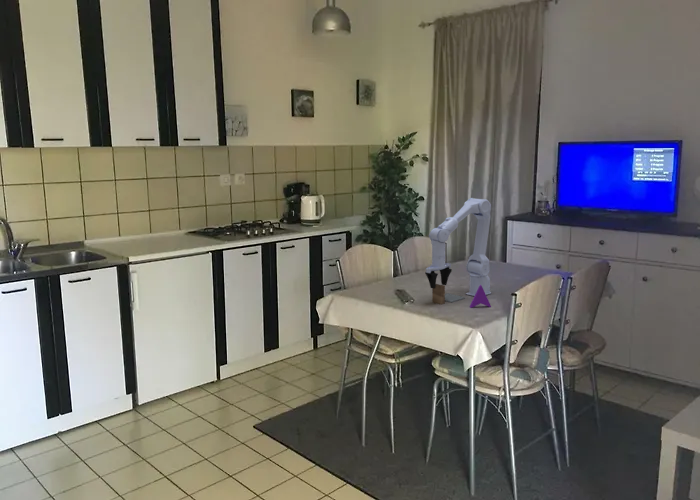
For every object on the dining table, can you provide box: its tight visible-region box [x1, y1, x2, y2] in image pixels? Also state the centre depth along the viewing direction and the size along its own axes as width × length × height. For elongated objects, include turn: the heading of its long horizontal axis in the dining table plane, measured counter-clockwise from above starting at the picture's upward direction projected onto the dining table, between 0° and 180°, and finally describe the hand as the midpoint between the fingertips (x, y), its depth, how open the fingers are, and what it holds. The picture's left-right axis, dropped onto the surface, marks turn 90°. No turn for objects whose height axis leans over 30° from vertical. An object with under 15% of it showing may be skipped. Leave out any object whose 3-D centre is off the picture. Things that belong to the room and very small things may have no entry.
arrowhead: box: [469, 285, 492, 309], centre depth 249 cm, size 10×2×10 cm
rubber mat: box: [445, 293, 466, 303], centre depth 264 cm, size 10×10×1 cm
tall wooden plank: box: [431, 283, 446, 306], centre depth 256 cm, size 2×5×8 cm, turn 42°
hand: (438, 286), depth 256 cm, fingers open, 7 cm apart
